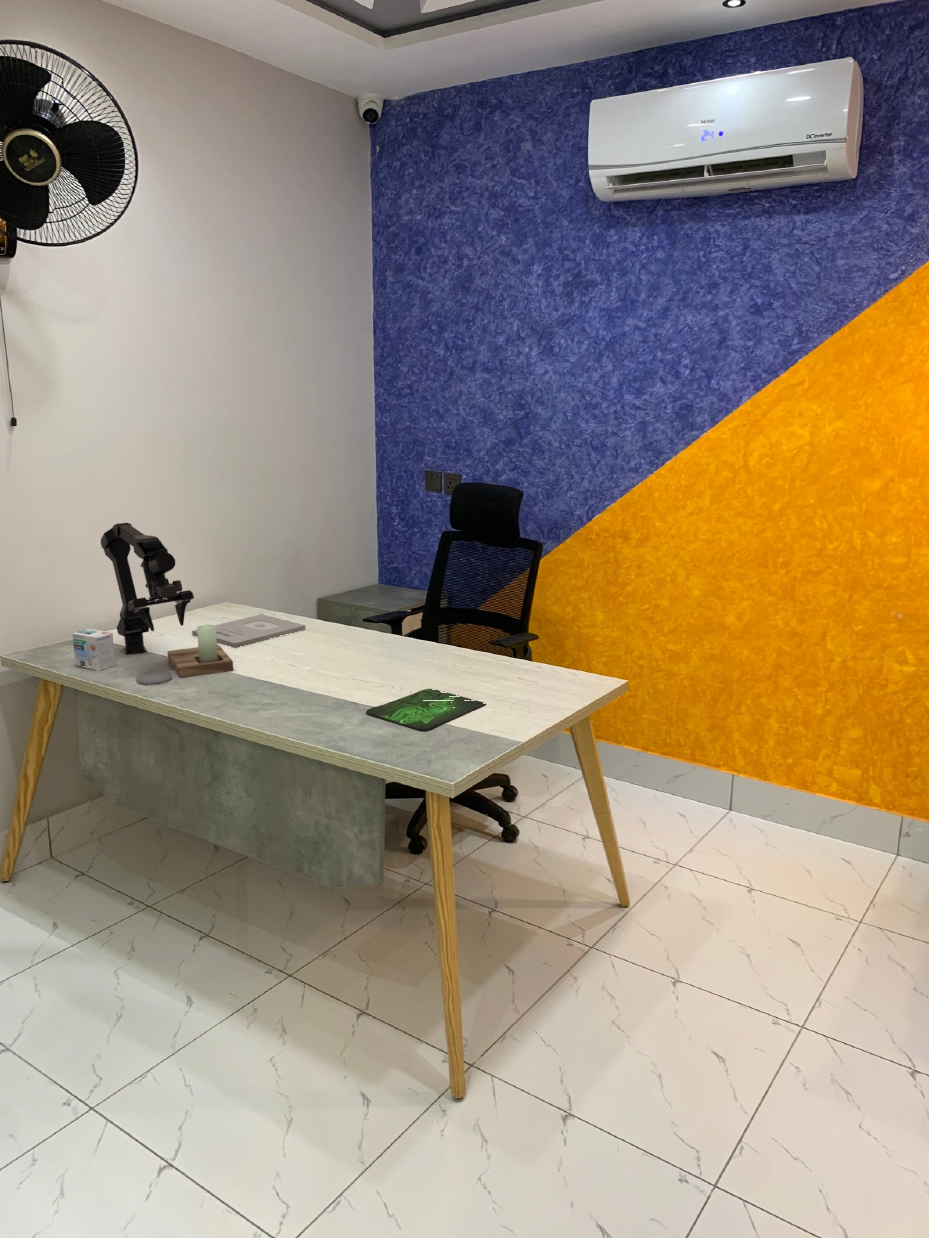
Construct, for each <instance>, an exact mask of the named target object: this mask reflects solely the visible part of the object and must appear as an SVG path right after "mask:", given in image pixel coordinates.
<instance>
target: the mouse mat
mask: <svg viewBox="0 0 929 1238" xmlns="http://www.w3.org/2000/svg"><path fill="white" fill-rule="evenodd" d="M432 689H433V688H425V689H422V690H419V691H417V692H414V693H411V694H408V695H406V696H404V697H400V698H398V699H395V700H392V701H389V702H386V703H384V704H381V705H377V706H374V707H371V708H369V709H367V710H366V711H365V714H367V715H368V716H371V717H373V718H377V719H380V720H384V721H388V722H391V723H393V724H397V725H399V726H400V725H401V726H403V727H406V728H411V729H413V730H417V731H422V732H423V731H430V730H432V729H434V728H437V727H439V726H442V725H444V723H445V724H447V723H449V722H451V720H452V721H454V720H456V719H459V718H461V717H462V716H463V717H464V716H465V715H468V714H470V713H472V711H473V712H474V711H476V710H478V709H480V708H483V707H485V706H487V703H485V702H484V701H479V700H477V699H473V698H469V697H465V696H462V695H457V694H456V693H455V694H454V693H450V692H447V693H441V692H440V691H441V690H440V691H439V689H436V690H432ZM456 695H457V696H460V697H449V696H456ZM423 700H454V701H423ZM464 700H470V701H464ZM471 700H475V701H471ZM451 702H452V703H451ZM483 703H485V704H483ZM453 707H455V708H453Z"/></svg>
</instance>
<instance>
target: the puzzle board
mask: <svg viewBox="0 0 929 1238" xmlns="http://www.w3.org/2000/svg"><path fill="white" fill-rule="evenodd" d="M217 651H218V661H213V662H206V663H200V660H199V647H198V646H197V647H190V648H181V649H172V650H167V651H166V652H167V660H169V661H168V662H169V664H170V666H171V667H172V668H173V670H174V672H175V671H176V672H175V673H176V675H177V677H178V679H181V678H182V679H183V678H188V677H195V676H204V674H205V675H211V674H217V673H225V671H226V672H230V671H231V672H232V671H233V672H234V661H233V659H232V658H231V657H230V655H228V653H227V652H225V650H224V649H223V648H222V646H221V645H220V644H217Z"/></svg>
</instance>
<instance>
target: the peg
mask: <svg viewBox="0 0 929 1238" xmlns="http://www.w3.org/2000/svg"><path fill="white" fill-rule="evenodd" d="M196 630H197V635H198V637H197V643H198V645H197V647H199V660H200V663H206V662H213V661H218V651H217V645H218V643H217V638H216V626H214V624H203V625H199V626H197V627H196Z"/></svg>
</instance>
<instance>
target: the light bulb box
mask: <svg viewBox="0 0 929 1238" xmlns="http://www.w3.org/2000/svg"><path fill="white" fill-rule="evenodd" d="M113 634H114V633H113V632H112V631H105V630H99V629H94V628H86V629H84V630H79V631H76V632H73V633H72V641H73V650H74V659H75V660H74V662H75V665H76V664H77V665H80V666H86V667H91V668H94V669H104V668H105V667H110V666H113V665H115V664H116V656H115V654H116V653H115V646H114V636H113ZM113 667H114V666H113ZM110 668H111V667H110ZM104 670H105V669H104Z"/></svg>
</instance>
